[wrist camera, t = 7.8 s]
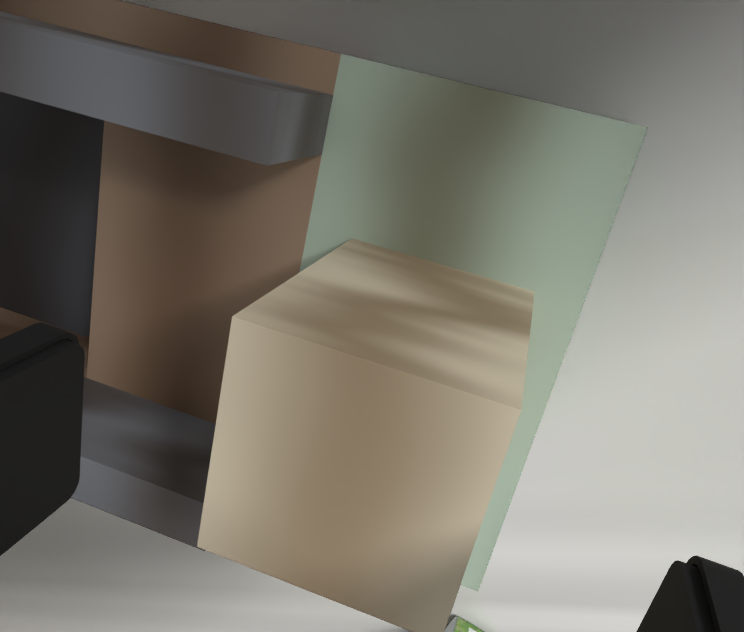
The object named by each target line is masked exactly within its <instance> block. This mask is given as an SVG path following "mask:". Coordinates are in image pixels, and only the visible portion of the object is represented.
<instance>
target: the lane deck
mask: <svg viewBox="0 0 744 632" xmlns="http://www.w3.org/2000/svg"><path fill="white" fill-rule="evenodd" d="M647 129H648V127H645V126H641V125H637V124H632V123H628V122H624V121H620V120H616V119H612V118H607V117H603V116H599V115H595V114H591V113H587V112H582V111H578V110H574V109H570V108H566V107H561V106H557V105H553V104H549V103H545V102H541V101H536V100H532V99H528V98H524V97H520V96H516V95H511V94H507V93H503V92H499V91H495V90H491V89H486V88H482V87H478V86H474V85H470V84H466V83H461V82H457V81H453V80H449V79H445V78H441V77H436V76H432V75H428V74H424V73H420V72H416V71H411V70H407V69H403V68H399V67H395V66H391V65H386V64H382V63H378V62H374V61H370V60H366V59H361V58H357V57H353V56H349V55H345V54H341V53H336V52H332V51H328V50H324V49H320V48H315V47H311V46H307V45H303V44H299V43H295V42H290V41H286V40H282V39H278V38H274V37H270V36H265V35H261V34H257V33H253V32H249V31H245V30H240V29H236V28H232V27H228V26H224V25H220V24H215V23H211V22H207V21H203V20H199V19H195V18H190V17H186V16H182V15H178V14H174V13H170V12H165V11H161V10H157V9H153V8H149V7H145V6H140V5H136V4H132V3H128V2H124V1H120V0H0V339H1V338H3V337H6V336H8V335H10V334H13V333H15V332H17V331H19V330H22V329H24V328H26V327H28V326H31V325H33V324H36V323H46V324H49V325H51V326H54V327H57V328H60V329H63V330H65V331H68V332H71V333H73V334H74V335H76V336H77V338H78V340H79V345H80V346H82V347H83V349H84V351H85V365H84V389H83V412H82V435H81V458H80V478H79V483H78V486H77V488H76V490H75V492H74V494H73V495H72V496H71V498H73V499H75V500H78V501H80V502H83V503H85V504H88V505H90V506H93V507H95V508H98V509H100V510H103V511H105V512H108V513H110V514H113V515H115V516H118V517H120V518H123V519H125V520H128V521H130V522H133V523H136V524H138V525H141V526H143V527H146V528H148V529H151V530H153V531H156V532H158V533H161V534H163V535H166V536H168V537H171V538H173V539H176V540H178V541H181V542H183V543H186V544H188V545H191V546H193V547H196V548H198V549H201V550H203V551H205V550H204V549H202V548H199V547H197V543H198V537H199V530H200V524H201V517H202V511H203V504H204V498H205V491H206V485H207V478H208V471H209V465H210V458H211V452H212V445H213V439H214V432H215V426H216V419H217V413H218V406H219V399H220V393H221V386H222V380H223V373H224V367H225V360H226V354H227V347H228V341H229V334H230V327H231V321H232V316H233V315H235V314H237V313H238V312H240V311H241V310H243V309H244V308H246V307H247V306H249V305H250V304H252V303H253V302H255V301H257V300H258V299H260V298H261V297H263V296H264V295H266V294H267V293H269V292H270V291H272V290H273V289H275V288H277V287H278V286H280V285H281V284H283V283H284V282H286V281H287V280H289V279H290V278H292V277H293V276H295V275H297V274H298V273H300V272H301V271H303V270H304V269H306V268H307V267H309V266H310V265H312V264H313V263H315V262H317V261H318V260H320V259H321V258H323V257H324V256H326V255H327V254H329V253H330V252H332V251H333V250H335V249H336V248H338V247H340V246H341V245H343V244H344V243H346V242H347V241H349V240H350V239H355V240H359V241H362V242H366V243H369V244H373V245H376V246H379V247H383V248H386V249H390V250H393V251H397V252H400V253H404V254H407V255H410V256H414V257H417V258H421V259H424V260H428V261H431V262H435V263H438V264H442V265H445V266H448V267H452V268H455V269H459V270H462V271H466V272H469V273H473V274H476V275H480V276H483V277H486V278H490V279H493V280H497V281H500V282H504V283H507V284H511V285H514V286H517V287H521V288H524V289H528V290H531V291H535V294H534V302H533V311H532V320H531V329H530V338H529V347H528V356H527V365H526V374H525V383H524V392H523V401H522V410H521V413H520V416H519V418H518V421H517V424H516V427H515V430H514V433H513V436H512V439H511V441H510V444H509V447H508V450H507V453H506V456H505V459H504V461H503V464H502V467H501V470H500V473H499V476H498V479H497V481H496V484H495V487H494V490H493V493H492V496H491V499H490V502H489V504H488V507H487V510H486V513H485V516H484V519H483V522H482V524H481V527H480V530H479V533H478V536H477V539H476V542H475V544H474V547H473V550H472V553H471V556H470V559H469V562H468V565H467V567H466V570H465V573H464V576H463V579H462V582H461V585H462V586H465V587H468V588H470V589H473V590H475V591H478V590H479V587H480V584H481V582H482V579H483V576H484V573H485V571H486V568H487V565H488V563H489V560H490V557H491V554H492V552H493V549H494V546H495V543H496V541H497V538H498V535H499V533H500V530H501V527H502V524H503V522H504V519H505V516H506V513H507V511H508V508H509V505H510V502H511V500H512V497H513V494H514V492H515V489H516V486H517V483H518V481H519V478H520V475H521V472H522V470H523V467H524V464H525V462H526V459H527V456H528V453H529V451H530V448H531V445H532V442H533V440H534V437H535V434H536V432H537V429H538V426H539V423H540V421H541V418H542V415H543V412H544V410H545V407H546V404H547V401H548V399H549V396H550V393H551V391H552V388H553V385H554V382H555V380H556V377H557V374H558V371H559V369H560V366H561V363H562V361H563V358H564V355H565V352H566V350H567V347H568V344H569V341H570V339H571V336H572V333H573V331H574V328H575V325H576V322H577V320H578V317H579V314H580V311H581V309H582V306H583V303H584V301H585V298H586V295H587V292H588V290H589V287H590V284H591V281H592V279H593V276H594V273H595V270H596V268H597V265H598V262H599V260H600V257H601V254H602V251H603V249H604V246H605V243H606V240H607V238H608V235H609V232H610V230H611V227H612V224H613V221H614V219H615V216H616V213H617V210H618V208H619V205H620V202H621V200H622V197H623V194H624V191H625V189H626V186H627V183H628V180H629V178H630V175H631V172H632V169H633V167H634V164H635V161H636V159H637V156H638V153H639V150H640V148H641V145H642V142H643V139H644V137H645V134H646V131H647Z"/></svg>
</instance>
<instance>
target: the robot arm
mask: <svg viewBox="0 0 744 632" xmlns="http://www.w3.org/2000/svg"><path fill="white" fill-rule="evenodd" d="M84 365H85V351H84V349H83V347H82V346H80V345H79V340H78V338H77V336H76V335H74V334H73V333H71V332H68V331H65V330H63V329H60V328H57V327H54V326H51V325H49V324H46V323H36V324H33V325H31V326H28V327H26V328H24V329H22V330H19V331H17V332H15V333H13V334H10V335H8V336H6V337H3V338H1V339H0V556H1V555H2V554H3V553H5V552H6V551H7V550H8V549H9V548H11V547H12V546H13V545H14V544H16V543H17V542H18V541H19V540H20V539H22V538H23V537H24V536H25V535H26V534H28V533H29V532H30V531H31V530H33V529H34V528H35V527H36V526H37V525H39V524H40V523H41V522H42V521H44V520H45V519H46V518H47V517H48V516H50V515H51V514H52V513H53V512H55V511H56V510H57V509H58V508H59V507H61V506H62V505H63V504H64V503H65V502H67V501H68V500H69V499H70V498H71V496H72V495H73V494H74V492H75V490H76V488H77V486H78V483H79V478H80V458H81V435H82V412H83V389H84ZM637 632H744V576H743V574H742V573H741V572H740V571H738V570H735V569H733V568H730V567H727V566H724V565H721V564H719V563H716V562H713V561H710V560H707V559H705V558H702V557H699V556H693V557H691V558H690V559H689V560H688V562H687V563H684V562H681V561H675V562H674V563H673V564H672V565H671V567H670V568H669V570H668V572H667V574H666V576H665V578H664V580H663V582H662V584H661V586H660V588H659V590H658V591H657V593H656V595H655V597H654V599H653V601H652V603H651V605H650V607H649V609H648V611H647V613H646V615H645V617H644V618H643V620H642V622H641V624H640V626H639V628H638V630H637Z"/></svg>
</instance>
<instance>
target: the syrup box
mask: <svg viewBox="0 0 744 632" xmlns="http://www.w3.org/2000/svg"><path fill="white" fill-rule="evenodd" d="M444 632H484V631H482V630H481V629H479V628H477V627H476V626H474V625H473V624H471V623H469V622H468V621H466V620H464V619H462V618H460V617H455V618H454V619H453V620H452V621H451V622H450V624H449V625H448V626H447V628H446V629H445V630H444Z"/></svg>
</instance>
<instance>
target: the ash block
mask: <svg viewBox="0 0 744 632" xmlns="http://www.w3.org/2000/svg"><path fill="white" fill-rule="evenodd" d="M534 294H535V291H531V290H528V289H524V288H521V287H517V286H514V285H511V284H507V283H504V282H500V281H497V280H493V279H490V278H486V277H483V276H480V275H476V274H473V273H469V272H466V271H462V270H459V269H455V268H452V267H448V266H445V265H442V264H438V263H435V262H431V261H428V260H424V259H421V258H417V257H414V256H410V255H407V254H404V253H400V252H397V251H393V250H390V249H386V248H383V247H379V246H376V245H373V244H369V243H366V242H362V241H359V240H355V239H350V240H349V241H347V242H346V243H344V244H343V245H341V246H340V247H338V248H336V249H335V250H333V251H332V252H330V253H329V254H327V255H326V256H324V257H323V258H321V259H320V260H318V261H317V262H315V263H313V264H312V265H310V266H309V267H307V268H306V269H304V270H303V271H301V272H300V273H298V274H297V275H295V276H293V277H292V278H290V279H289V280H287V281H286V282H284V283H283V284H281V285H280V286H278V287H277V288H275V289H273V290H272V291H270V292H269V293H267V294H266V295H264V296H263V297H261V298H260V299H258V300H257V301H255V302H253V303H252V304H250V305H249V306H247V307H246V308H244V309H243V310H241V311H240V312H238V313H237V314H235V315H233V316H232V321H231V327H230V334H229V341H228V347H227V354H226V360H225V367H224V373H223V380H222V386H221V393H220V399H219V406H218V413H217V419H216V426H215V432H214V439H213V445H212V452H211V458H210V465H209V471H208V478H207V485H206V491H205V498H204V504H203V511H202V517H201V524H200V530H199V537H198V543H197V547H199V548H202V549H204V550H207V551H209V552H212V553H214V554H217V555H219V556H222V557H224V558H227V559H229V560H232V561H234V562H237V563H240V564H242V565H245V566H247V567H250V568H252V569H255V570H257V571H260V572H262V573H265V574H267V575H270V576H272V577H275V578H277V579H280V580H283V581H285V582H288V583H290V584H293V585H295V586H298V587H300V588H303V589H305V590H308V591H310V592H313V593H315V594H318V595H320V596H323V597H326V598H328V599H331V600H333V601H336V602H338V603H341V604H343V605H346V606H348V607H351V608H353V609H356V610H358V611H361V612H363V613H366V614H369V615H371V616H374V617H376V618H379V619H381V620H384V621H386V622H389V623H391V624H394V625H396V626H399V627H401V628H404V629H406V630H409V631H412V632H444V630H445V628H446V625H447V622H448V619H449V616H450V613H451V610H452V608H453V605H454V602H455V599H456V596H457V593H458V590H459V587H460V585H461V582H462V579H463V576H464V573H465V570H466V567H467V565H468V562H469V559H470V556H471V553H472V550H473V547H474V544H475V542H476V539H477V536H478V533H479V530H480V527H481V524H482V522H483V519H484V516H485V513H486V510H487V507H488V504H489V502H490V499H491V496H492V493H493V490H494V487H495V484H496V481H497V479H498V476H499V473H500V470H501V467H502V464H503V461H504V459H505V456H506V453H507V450H508V447H509V444H510V441H511V439H512V436H513V433H514V430H515V427H516V424H517V421H518V418H519V416H520V413H521V410H522V401H523V392H524V383H525V374H526V365H527V356H528V347H529V338H530V329H531V320H532V311H533V302H534Z"/></svg>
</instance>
